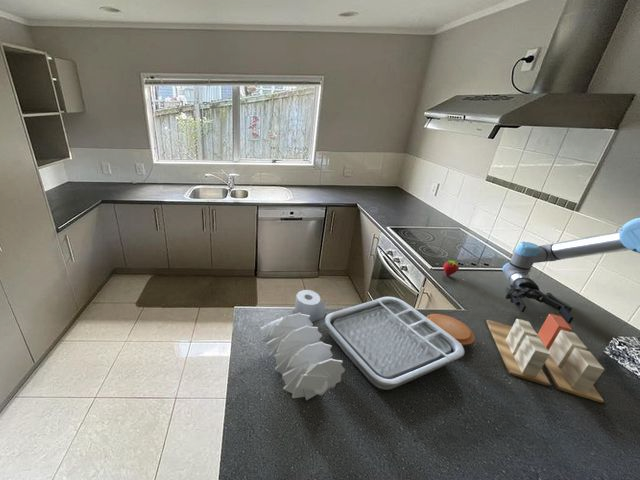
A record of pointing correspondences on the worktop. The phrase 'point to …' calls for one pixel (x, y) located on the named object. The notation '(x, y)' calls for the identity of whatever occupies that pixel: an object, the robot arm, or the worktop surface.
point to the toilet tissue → (310, 305)
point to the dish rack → (391, 341)
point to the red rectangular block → (552, 329)
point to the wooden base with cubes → (521, 350)
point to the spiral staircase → (301, 356)
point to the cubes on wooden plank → (573, 366)
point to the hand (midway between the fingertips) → (546, 314)
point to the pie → (453, 328)
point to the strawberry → (450, 267)
